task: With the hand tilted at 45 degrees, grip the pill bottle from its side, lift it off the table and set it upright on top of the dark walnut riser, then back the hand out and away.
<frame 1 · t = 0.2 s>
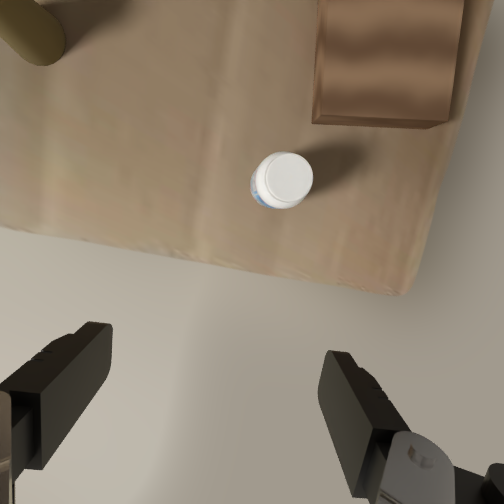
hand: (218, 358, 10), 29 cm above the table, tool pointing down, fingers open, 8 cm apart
pill bottle: (271, 185, 38), on the table
walnut riser: (375, 60, 36), on the table
cork: (39, 38, 33), on the table
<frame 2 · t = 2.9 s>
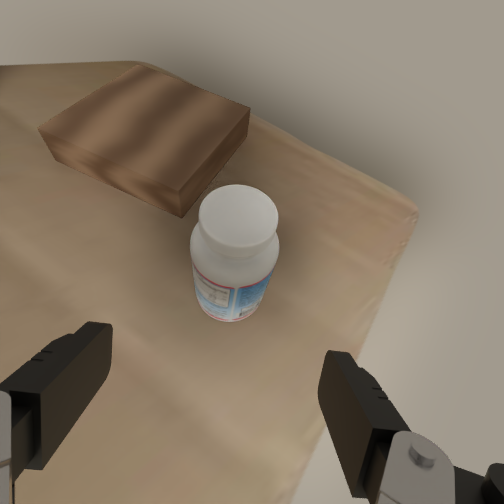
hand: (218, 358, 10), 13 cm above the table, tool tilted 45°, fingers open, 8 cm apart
pill bottle: (228, 291, 26), on the table
walnut riser: (160, 147, 34), on the table
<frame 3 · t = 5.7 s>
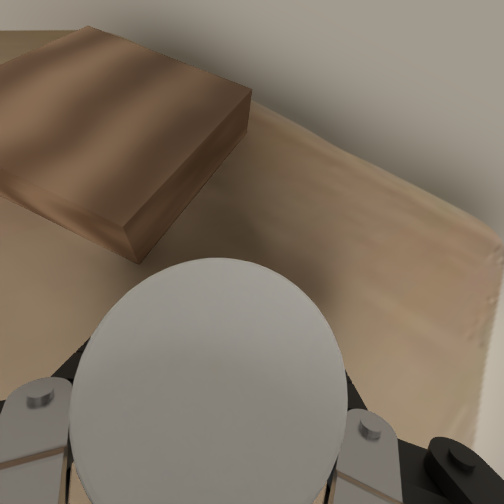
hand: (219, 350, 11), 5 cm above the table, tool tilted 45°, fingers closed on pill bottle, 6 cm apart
pill bottle: (212, 407, 14), on the table, touching gripper
walnut riser: (116, 147, 23), on the table
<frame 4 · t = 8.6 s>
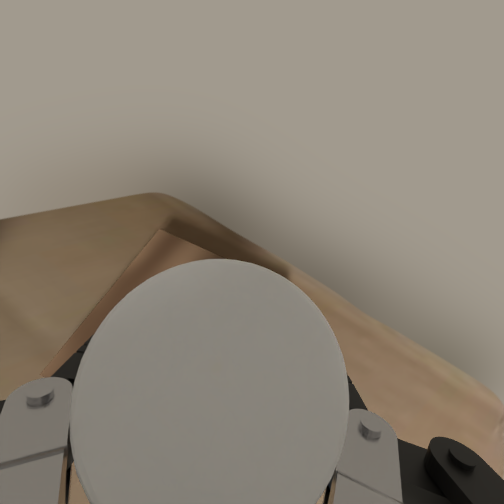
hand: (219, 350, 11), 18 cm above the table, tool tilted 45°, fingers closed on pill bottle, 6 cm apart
pill bottle: (212, 408, 14), point 13 cm above the table, touching gripper
walnut riser: (188, 339, 28), on the table
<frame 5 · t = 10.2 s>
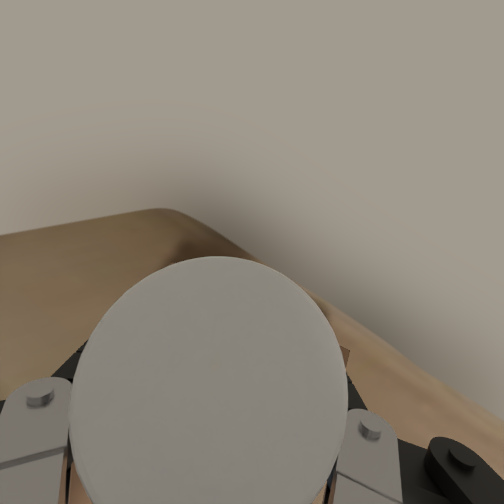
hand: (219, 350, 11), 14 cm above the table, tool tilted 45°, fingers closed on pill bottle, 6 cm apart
pill bottle: (212, 407, 14), point 9 cm above the table, touching gripper
walnut riser: (207, 409, 22), on the table
when the fingers open (10 cm above the table, at t = 11.5 s): pill bottle drops 1 cm, resting on walnut riser.
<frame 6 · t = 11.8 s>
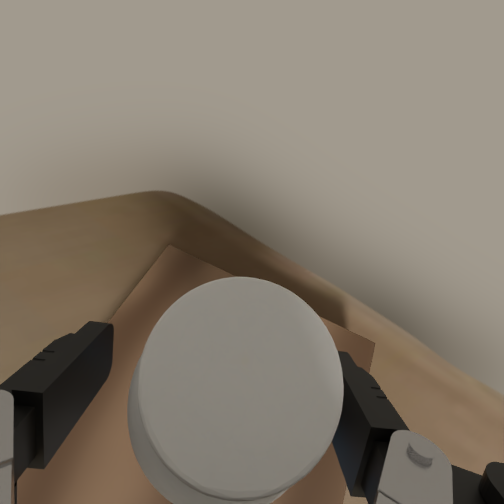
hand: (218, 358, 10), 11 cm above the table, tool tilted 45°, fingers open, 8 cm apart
pill bottle: (211, 412, 16), point 4 cm above the table, touching walnut riser
walnut riser: (211, 411, 19), on the table
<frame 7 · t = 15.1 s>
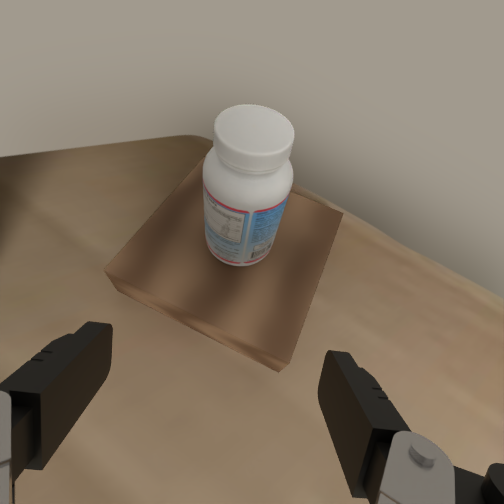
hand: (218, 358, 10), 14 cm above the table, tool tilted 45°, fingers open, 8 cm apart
pill bottle: (238, 240, 25), point 4 cm above the table, touching walnut riser
walnut riser: (235, 260, 29), on the table
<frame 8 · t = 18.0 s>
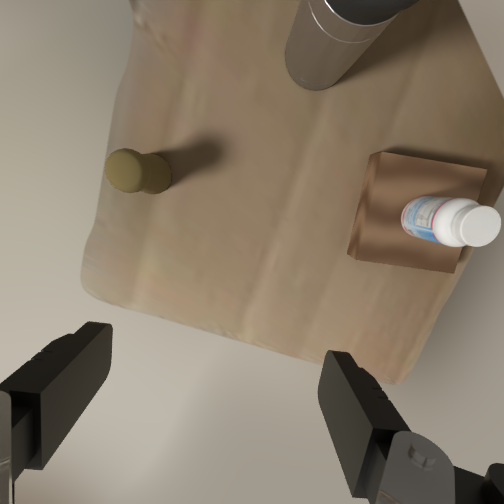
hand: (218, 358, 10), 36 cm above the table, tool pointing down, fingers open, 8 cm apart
pill bottle: (418, 216, 42), point 4 cm above the table, touching walnut riser
walnut riser: (405, 213, 46), on the table
cork: (152, 174, 44), on the table
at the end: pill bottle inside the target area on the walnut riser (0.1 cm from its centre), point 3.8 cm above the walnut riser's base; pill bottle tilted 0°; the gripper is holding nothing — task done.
